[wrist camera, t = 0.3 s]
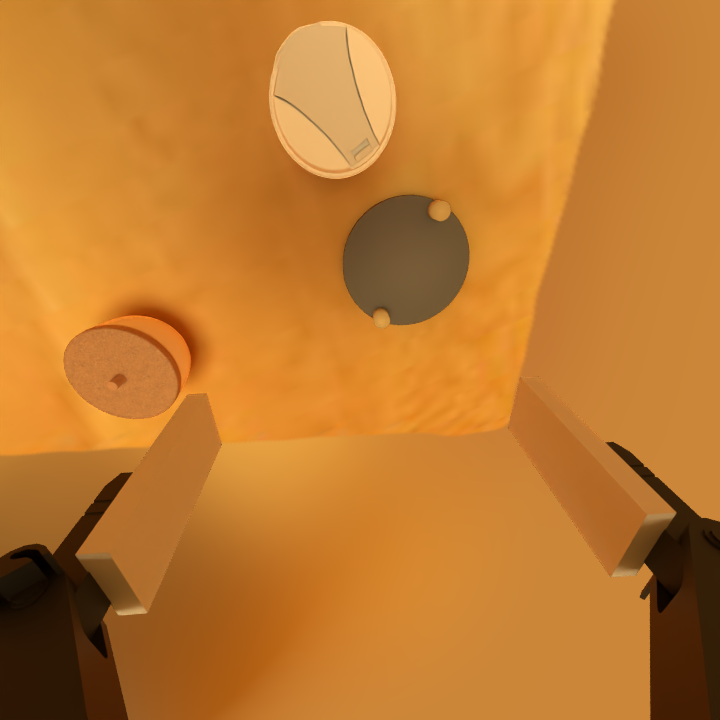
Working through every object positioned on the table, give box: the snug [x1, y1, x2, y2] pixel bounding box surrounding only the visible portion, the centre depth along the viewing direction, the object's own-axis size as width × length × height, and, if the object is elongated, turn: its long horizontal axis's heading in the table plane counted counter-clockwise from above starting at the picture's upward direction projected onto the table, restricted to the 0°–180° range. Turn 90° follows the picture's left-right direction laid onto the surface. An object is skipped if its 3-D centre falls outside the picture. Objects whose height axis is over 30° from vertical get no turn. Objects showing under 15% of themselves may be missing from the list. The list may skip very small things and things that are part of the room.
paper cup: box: [269, 21, 396, 179], centre depth 25 cm, size 8×8×14 cm
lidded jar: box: [64, 315, 191, 419], centre depth 36 cm, size 11×11×9 cm
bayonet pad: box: [343, 195, 469, 329], centre depth 36 cm, size 14×14×3 cm
